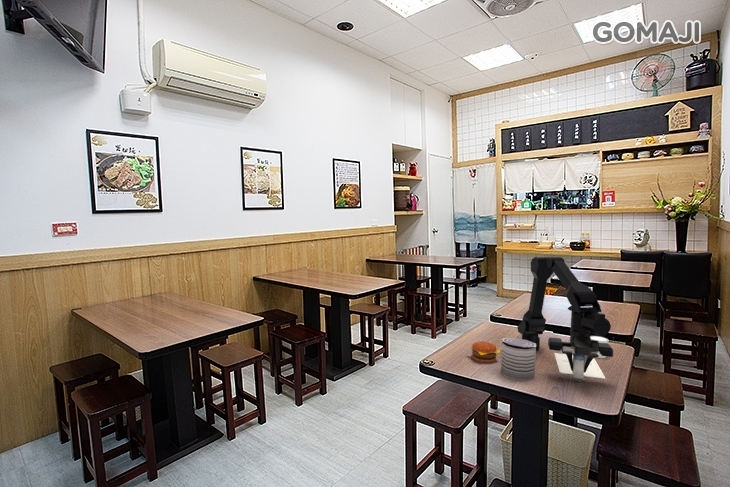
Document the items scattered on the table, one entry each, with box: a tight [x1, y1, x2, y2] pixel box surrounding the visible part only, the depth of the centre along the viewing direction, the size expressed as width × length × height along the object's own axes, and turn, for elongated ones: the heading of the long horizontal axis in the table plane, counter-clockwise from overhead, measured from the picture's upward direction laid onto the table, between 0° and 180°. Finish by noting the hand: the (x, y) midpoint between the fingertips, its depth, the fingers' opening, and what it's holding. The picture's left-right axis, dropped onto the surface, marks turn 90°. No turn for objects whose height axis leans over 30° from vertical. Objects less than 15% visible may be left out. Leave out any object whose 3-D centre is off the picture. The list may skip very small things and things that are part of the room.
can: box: [500, 337, 537, 382], centre depth 136 cm, size 11×11×12 cm
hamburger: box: [468, 340, 502, 365], centre depth 150 cm, size 9×10×7 cm
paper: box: [553, 352, 607, 380], centre depth 144 cm, size 14×20×1 cm
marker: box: [571, 352, 585, 383], centre depth 131 cm, size 3×3×9 cm
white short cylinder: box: [590, 335, 610, 359], centre depth 153 cm, size 7×7×7 cm
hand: (578, 371), depth 131 cm, fingers closed on marker, 3 cm apart
